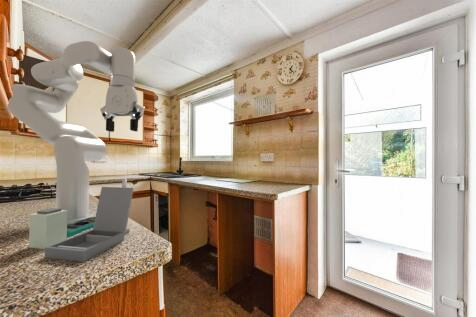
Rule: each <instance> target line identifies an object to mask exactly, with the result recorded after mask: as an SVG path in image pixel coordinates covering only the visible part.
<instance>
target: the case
mask: <svg viewBox="0 0 476 317" xmlns="http://www.w3.org/2000/svg"><path fill="white" fill-rule="evenodd" d="M123 241H125V235H124V232H120V231H107V230H94V229H93V228H92V229H89V230H88V231H87V230H86V231H85V232H81V233H78V234H76V235H73V236H70V237H69V238H67V239H66V240H64V241H61V242H58V243H56V244H53V245H50V246H48V247H45V249H44V258H45V259H54V260H62V261H72V262H80V263H84V262H86V261H88V260H90V259H92V258H94V257H96V256H97V255H99V254H101V253H103V252H105V251H106V250H108V249H111V248H112V247H114V246H116V245H118V244H120V243H122V242H123Z"/></svg>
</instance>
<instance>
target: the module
mask: <svg viewBox="0 0 476 317" xmlns="http://www.w3.org/2000/svg"><path fill="white" fill-rule="evenodd" d="M28 231H29V234H28V237H29V238H28V248H31V249H40V250H45V247H48V246H50V245H53V244H56V243H58V242H61V241H64V240H66V239H68V237H67V210H61V209H56V207H53V208H51V207H50V208H46V209H41V210H37V212H35V213H30V214H29V230H28Z"/></svg>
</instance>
